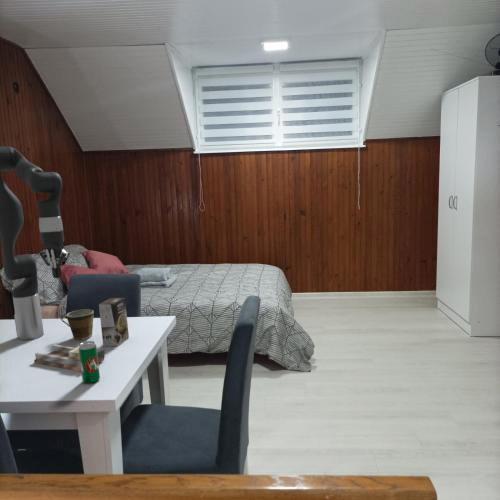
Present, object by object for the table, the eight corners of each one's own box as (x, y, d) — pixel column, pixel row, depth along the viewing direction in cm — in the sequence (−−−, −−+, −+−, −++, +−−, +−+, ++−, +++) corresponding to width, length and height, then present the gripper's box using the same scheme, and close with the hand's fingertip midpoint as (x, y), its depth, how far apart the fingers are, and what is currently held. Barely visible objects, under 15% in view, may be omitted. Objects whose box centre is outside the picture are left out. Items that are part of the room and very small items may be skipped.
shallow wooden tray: (34, 362, 154) (32, 351, 153) (57, 351, 163) (56, 341, 162) (84, 372, 144) (82, 360, 143) (106, 360, 153) (105, 348, 152)
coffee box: (118, 346, 165) (113, 304, 162) (102, 346, 166) (97, 303, 164) (129, 337, 174) (125, 297, 171) (114, 337, 175) (110, 297, 172)
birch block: (70, 363, 149) (68, 351, 148) (83, 356, 154) (82, 345, 154) (83, 365, 146) (82, 353, 146) (96, 358, 152) (95, 347, 151)
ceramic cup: (100, 332, 181) (97, 308, 179) (89, 341, 171) (86, 316, 170) (69, 333, 182) (66, 309, 181) (57, 342, 173) (53, 317, 171)
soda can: (85, 377, 140) (80, 341, 138) (101, 376, 140) (97, 339, 138) (80, 385, 135) (76, 347, 133) (97, 383, 135) (93, 345, 133)
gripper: (29, 231, 157) (35, 279, 160) (56, 231, 151) (62, 281, 154) (46, 228, 164) (52, 274, 167) (73, 228, 158) (79, 276, 161)
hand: (57, 277), depth 160 cm, fingers closed
